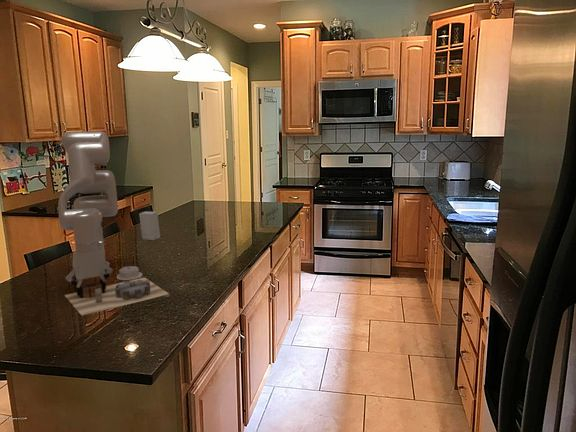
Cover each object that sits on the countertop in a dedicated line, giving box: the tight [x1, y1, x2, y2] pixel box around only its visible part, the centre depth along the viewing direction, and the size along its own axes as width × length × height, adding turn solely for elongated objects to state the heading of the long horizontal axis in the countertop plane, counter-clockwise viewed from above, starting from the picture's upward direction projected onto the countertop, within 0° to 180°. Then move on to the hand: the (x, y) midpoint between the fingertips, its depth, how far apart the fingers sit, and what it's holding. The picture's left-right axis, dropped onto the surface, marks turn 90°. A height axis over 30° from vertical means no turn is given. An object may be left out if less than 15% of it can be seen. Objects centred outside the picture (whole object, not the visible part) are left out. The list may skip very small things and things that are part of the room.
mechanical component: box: [116, 265, 143, 281], centre depth 188 cm, size 10×4×10 cm
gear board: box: [64, 277, 171, 319], centre depth 168 cm, size 24×30×6 cm
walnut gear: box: [81, 281, 103, 298], centre depth 168 cm, size 7×7×4 cm
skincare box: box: [138, 210, 161, 241], centre depth 252 cm, size 8×6×15 cm
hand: (91, 293), depth 169 cm, fingers closed on walnut gear, 7 cm apart
